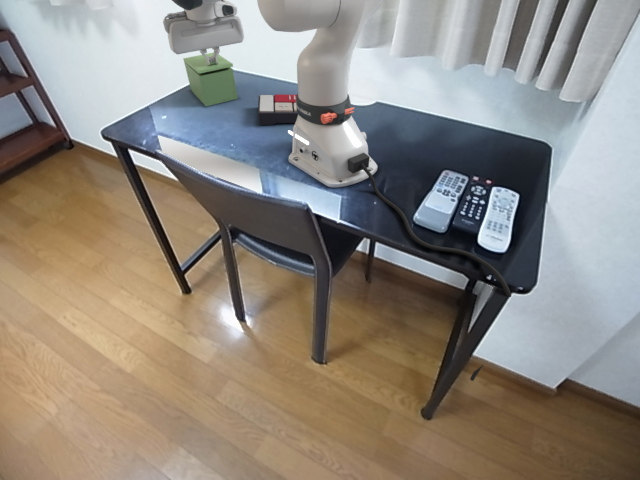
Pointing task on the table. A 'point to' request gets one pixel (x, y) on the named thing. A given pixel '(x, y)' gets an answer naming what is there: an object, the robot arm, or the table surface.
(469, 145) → the table surface
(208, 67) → the lid
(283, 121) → the black rectangular box
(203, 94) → the chest
